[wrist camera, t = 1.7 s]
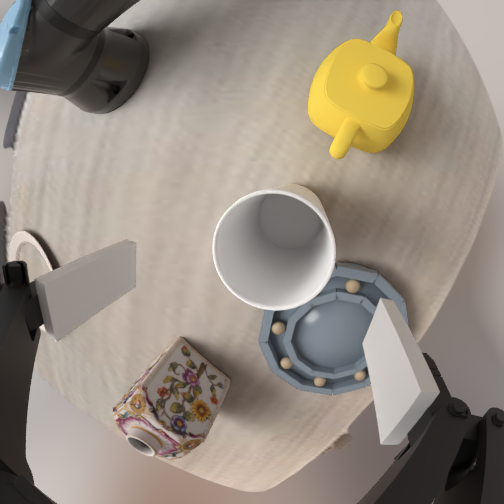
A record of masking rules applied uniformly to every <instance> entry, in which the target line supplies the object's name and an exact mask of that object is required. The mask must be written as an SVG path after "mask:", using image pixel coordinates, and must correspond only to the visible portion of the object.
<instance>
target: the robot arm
mask: <svg viewBox="0 0 504 504" xmlns="http://www.w3.org/2000/svg"><path fill="white" fill-rule="evenodd" d="M139 1H140V0H17V1H15V2H14V3H13V5H12V6H11V7H10V9H9V10H8V12H7V13H6V15H5V17H4V18H3V20H2V22H1V24H0V88H2V89H7V91H10V90H14V91H25V92H35V93H43V94H51V95H58V96H63V97H65V98H66V99H67V100H69V101H70V102H72V103H73V104H74V105H76V106H77V107H78V108H80V109H81V110H83V111H85V112H89V113H95V114H104V113H108V112H110V111H112V110H114V109H116V108H118V107H119V106H120V105H122V104H123V103H124V102H125V101H126V100H127V99H128V98H129V97H130V96H131V95H132V94H133V92H134V91H135V90H136V88H137V87H138V85H139V84H140V82H141V80H142V78H143V76H144V74H145V71H146V68H147V65H148V60H149V48H148V44H147V42H146V40H145V39H144V38H143V37H142V36H141V35H139V34H137V33H136V32H134V31H132V30H129V29H124V28H114V27H107V26H108V25H109V24H110V23H112V22H113V21H114V20H115V19H116V18H118V17H119V16H120V15H121V14H123V13H124V12H125V11H126V10H128V9H129V8H130V7H132V6H133V5H134V4H136V3H137V2H139ZM2 268H3V274H4V279H5V284H4V283H2V279H1V274H0V504H57V503H55V502H54V501H52V500H51V499H50V498H49V497H48V496H46V495H45V494H44V493H43V492H41V491H40V490H39V489H38V488H37V487H36V486H34V480H33V476H32V473H31V470H30V468H29V465H28V463H27V460H26V423H27V410H28V400H29V392H30V385H31V379H32V373H33V367H34V362H35V357H36V352H37V348H38V343H39V339H40V335H41V332H40V328H39V327H40V326H42V325H43V324H44V327H45V330H46V334H47V336H48V337H50V338H51V339H53V340H54V341H56V342H58V341H59V340H61V339H62V338H63V337H65V336H66V335H67V334H69V333H70V332H72V331H73V330H74V329H76V328H77V327H79V326H80V325H81V324H83V323H84V322H86V321H87V320H88V319H90V318H91V317H93V316H94V315H96V314H97V313H98V312H100V311H101V310H103V309H104V308H106V307H107V306H108V305H110V304H111V303H113V302H114V301H116V300H117V299H119V298H120V297H122V296H123V295H124V294H126V293H127V292H129V291H130V290H132V289H133V288H135V287H136V242H133V241H129V240H123V241H121V242H118V243H116V244H113V245H111V246H109V247H106V248H104V249H101V250H99V251H96V252H94V253H92V254H89V255H87V256H85V257H82V258H80V259H78V260H75V261H73V262H71V263H68V264H66V265H64V266H62V267H59V268H57V269H55V270H53V271H51V272H48V273H46V274H44V275H42V276H40V277H38V278H36V279H35V281H33V282H31V283H30V282H29V276H28V270H27V264H26V262H24V261H11V262H8V263H6V264H4V265H3V266H2ZM362 344H363V349H364V353H365V358H366V362H367V367H368V372H369V377H370V382H371V387H372V392H373V397H374V403H375V409H376V415H377V421H378V428H379V435H380V442H381V444H388V445H392V444H400V442H401V441H402V440H403V439H404V438H405V437H406V436H407V435H408V440H409V443H408V445H407V446H406V447H405V448H404V449H403V450H402V451H401V452H400V453H399V454H398V455H397V456H396V457H395V458H394V459H395V461H394V462H393V464H392V465H391V466H390V467H389V469H388V470H387V471H386V472H385V474H384V475H383V476H382V477H381V478H380V479H379V481H378V482H377V483H376V484H375V485H374V486H373V487H372V489H371V490H370V491H369V492H368V493H367V494H366V495H365V496H364V497H363V498H362V499H361V500H360V501H359V502H358V503H357V504H431V503H432V502H433V500H434V498H435V500H434V503H433V504H504V411H503V410H500V409H498V408H490V409H489V410H488V411H487V412H486V414H485V415H484V416H483V417H479V416H475V415H471V412H470V409H469V407H468V406H467V405H466V403H464V402H463V401H462V400H460V399H458V398H453V397H451V395H450V393H449V391H448V389H447V387H446V385H445V382H444V380H443V378H442V377H441V374H440V372H439V371H438V368H437V366H436V364H435V362H434V361H433V360H432V359H431V358H430V357H429V356H428V355H427V353H422V352H421V350H420V348H419V346H418V344H417V342H416V341H415V339H414V337H413V335H412V333H411V331H410V329H409V327H408V325H407V324H406V322H405V320H404V318H403V316H402V315H401V313H400V311H399V309H398V307H397V306H396V304H395V302H394V301H393V300H388V299H383V298H380V300H379V303H378V305H377V308H376V311H375V313H374V316H373V319H372V321H371V324H370V326H369V329H368V331H367V334H366V336H365V339H364V341H363V343H362ZM475 463H476V464H475Z"/></svg>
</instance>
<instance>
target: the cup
mask: <svg viewBox="0 0 504 504" xmlns="http://www.w3.org/2000/svg"><path fill="white" fill-rule="evenodd" d="M213 259H214V263H215V266H216V269H217V272H218V274H219V276H220V278H221V280H222V281H223V283H224V284H225V285H226V287H227V288H228V289H229V290H230V291H231V292H232V293H233V294H234V295H235V296H236V297H238V298H239V299H241V300H242V301H244V302H246V303H248V304H250V305H252V306H254V307H257V308H261V309H266V310H287V309H292V308H296V307H298V306H301V305H303V304H305V303H307V302H308V301H310V300H312V299H313V298H314V297H315V296H317V295H318V294H319V293H320V292H321V291H322V289H323V288H324V287H325V285H326V284H327V282H328V281H329V279H330V277H331V274H332V272H333V269H334V265H335V259H336V244H335V238H334V234H333V231H332V228H331V226H330V223H329V220H328V218H327V216H326V213H325V211H324V208H323V206H322V204H321V202H320V200H319V198H318V197H317V196H316V195H315V194H314V193H313V192H312V191H311V190H309V189H308V188H306V187H304V186H301V185H297V184H284V185H280V186H276V187H272V188H268V189H264V190H260V191H257V192H253V193H251V194H248V195H246V196H244V197H242V198H241V199H239V200H238V201H236V202H235V203H234V204H233V205H231V206H230V207H229V208H228V209H227V211H226V212H225V213H224V214H223V216H222V217H221V219H220V221H219V223H218V225H217V227H216V230H215V233H214V238H213Z"/></svg>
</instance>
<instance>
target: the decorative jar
mask: <svg viewBox="0 0 504 504" xmlns="http://www.w3.org/2000/svg"><path fill="white" fill-rule="evenodd" d="M230 383H231V380H230V379H229V378H228V377H227V376H226V375H224V374H223V373H222V372H221V371H220V370H218V369H217V368H216V367H214V366H213V365H212V364H211V363H210V362H209V361H208V360H206V359H205V358H204V357H203V356H202V355H201V354H200V353H199V352H197V351H196V350H195V349H194V348H193V347H192V346H191V345H190V344H189V343H188V342H187V341H185V340H184V339H183V338H182V337H178V338H177V339H176V340H175V341H174V342H173V343H172V344H171V345H170V346H169V347H168V348H166V349H165V350H164V351H163V352H162V353H161V354H160V355H159V356H158V357H157V358H156V359H155V360H154V361H153V362H152V363H151V364H150V365H149V366H148V367H147V369H146V370H145V371H144V372H143V373H142V374H141V375H140V377H139V378H138V379H137V380H136V381H135V383H134V384H133V385H132V386H131V387H130V389H129V390H128V391H127V392H126V394H125V395H124V396H123V398H122V399H121V400H120V401H119V403H118V404H117V405H116V406H115V407H113V417H114V419H115V422H116V424H117V426H118V428H119V429H120V431H121V432H122V434H123V435H125V436H126V440H127V441H128V443H129V444H130V445H131V446H132V447H133V448H134V449H135V450H137V451H138V452H140V453H142V454H144V455H147V456H150V457H152V456H155V455H157V456H160V457H163V458H167V459H171V460H172V459H177V458H181V457H183V456H185V455H187V454H188V453H190V451H191V450H193V449H195V448H196V447H197V446H199V445H200V444H201V443H202V442H204V440H205V439H206V437H207V435H208V433H209V431H210V429H211V427H212V424H213V422H214V420H215V418H216V416H217V414H218V411H219V409H220V407H221V405H222V403H223V401H224V399H225V396H226V394H227V391H228V389H229V387H230Z"/></svg>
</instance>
